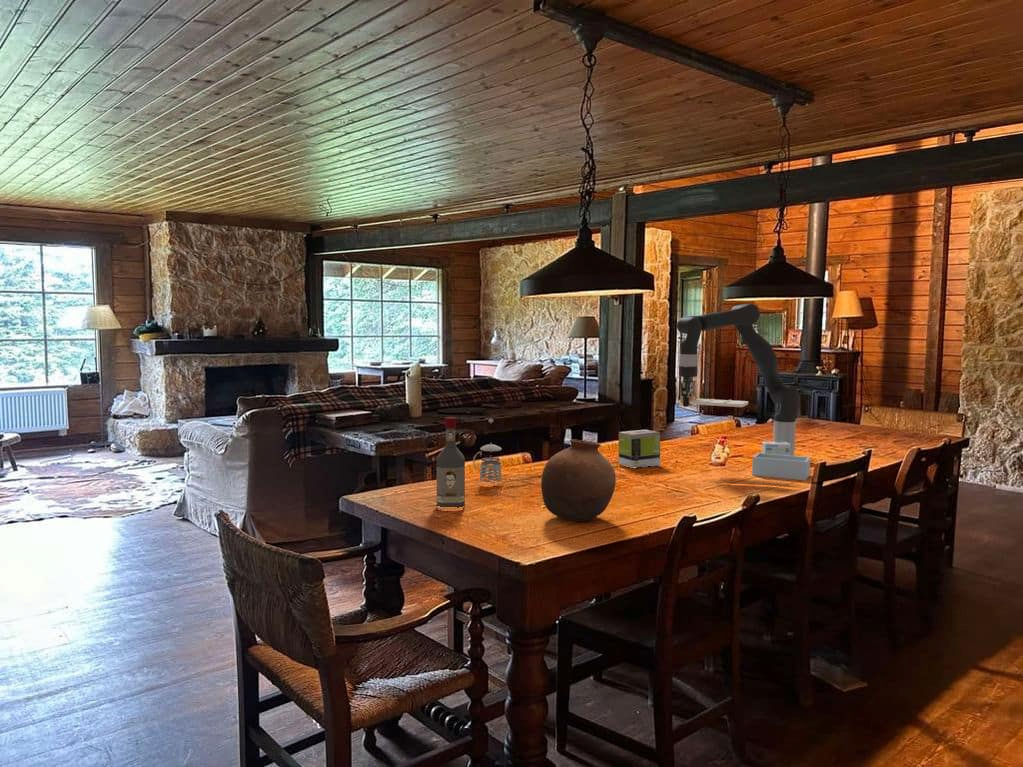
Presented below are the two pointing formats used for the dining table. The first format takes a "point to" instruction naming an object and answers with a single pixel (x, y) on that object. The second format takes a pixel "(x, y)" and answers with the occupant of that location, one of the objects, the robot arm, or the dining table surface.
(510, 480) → the dining table surface
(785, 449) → the light bulb box
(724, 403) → the lid
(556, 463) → the pottery
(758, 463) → the tub
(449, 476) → the liquor
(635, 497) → the dining table surface
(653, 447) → the tea box
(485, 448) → the french press
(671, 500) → the dining table surface
